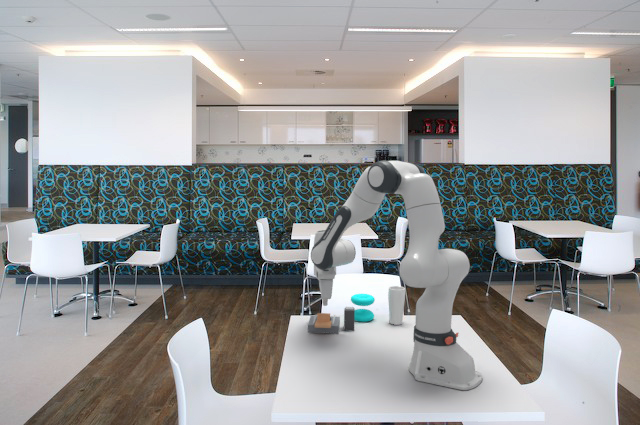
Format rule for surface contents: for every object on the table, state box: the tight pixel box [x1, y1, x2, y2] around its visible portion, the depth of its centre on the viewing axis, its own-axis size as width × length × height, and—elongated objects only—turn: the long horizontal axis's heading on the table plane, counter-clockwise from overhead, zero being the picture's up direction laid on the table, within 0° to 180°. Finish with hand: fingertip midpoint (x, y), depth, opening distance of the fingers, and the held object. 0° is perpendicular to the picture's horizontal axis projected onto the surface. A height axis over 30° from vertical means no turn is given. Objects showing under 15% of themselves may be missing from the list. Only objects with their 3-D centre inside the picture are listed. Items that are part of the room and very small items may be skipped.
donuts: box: [350, 293, 376, 323], centre depth 212 cm, size 10×10×10 cm
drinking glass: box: [387, 285, 406, 326], centre depth 206 cm, size 7×7×15 cm
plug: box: [343, 306, 356, 332], centre depth 199 cm, size 4×4×9 cm
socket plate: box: [307, 313, 341, 335], centre depth 200 cm, size 12×12×4 cm
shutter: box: [315, 312, 332, 328], centre depth 193 cm, size 6×6×4 cm
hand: (325, 304), depth 198 cm, fingers closed
